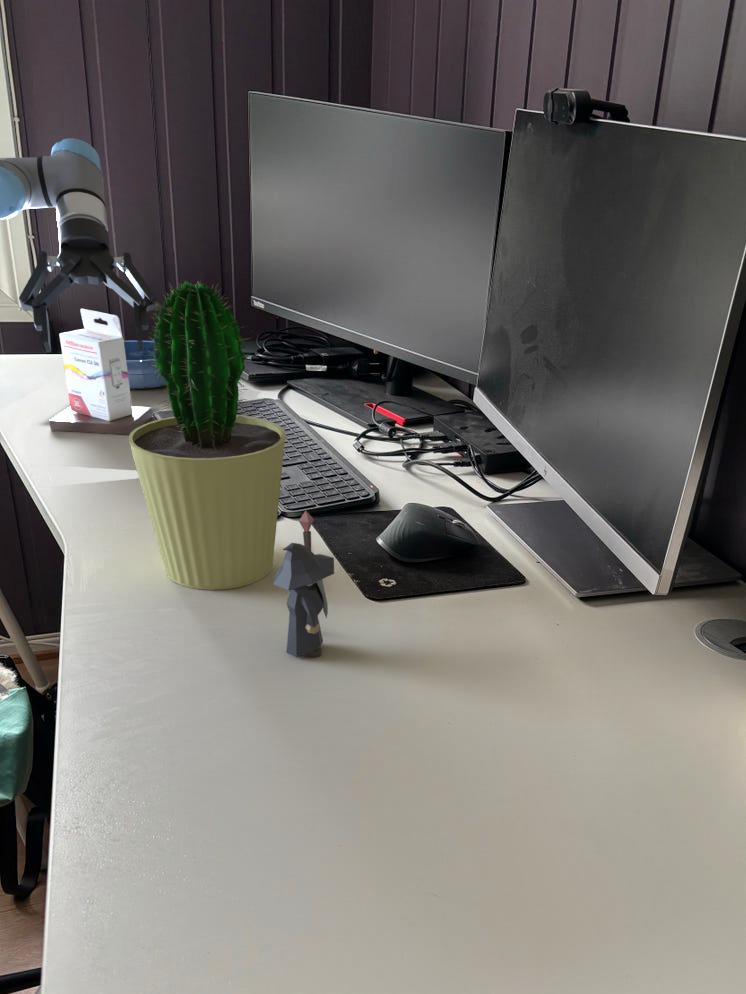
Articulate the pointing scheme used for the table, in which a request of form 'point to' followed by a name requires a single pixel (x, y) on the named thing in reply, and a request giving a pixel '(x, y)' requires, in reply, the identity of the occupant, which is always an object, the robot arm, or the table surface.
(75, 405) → the ink cartridge box
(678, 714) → the table surface
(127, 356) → the bowl
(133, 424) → the board
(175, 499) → the potted cactus
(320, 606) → the wizard figurine
